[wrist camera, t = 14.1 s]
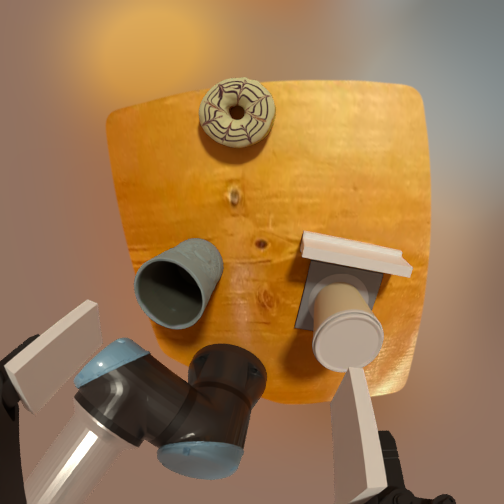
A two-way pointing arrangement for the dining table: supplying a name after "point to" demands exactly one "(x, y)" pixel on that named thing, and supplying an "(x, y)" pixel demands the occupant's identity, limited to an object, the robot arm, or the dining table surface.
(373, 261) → the low wall
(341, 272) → the resting mat
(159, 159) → the dining table surface
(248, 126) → the decorated donut
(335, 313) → the coffee cup
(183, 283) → the grey cup
